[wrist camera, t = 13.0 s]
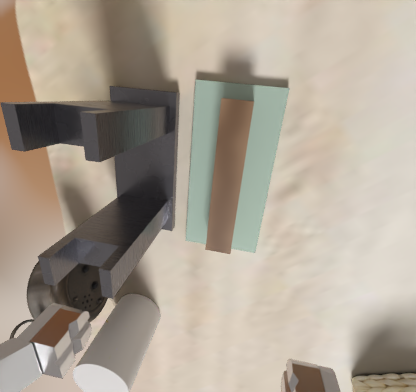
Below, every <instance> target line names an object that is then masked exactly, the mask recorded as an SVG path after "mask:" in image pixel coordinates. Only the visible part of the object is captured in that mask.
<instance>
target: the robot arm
mask: <svg viewBox="0 0 416 392" xmlns="http://www.w3.org/2000/svg"><path fill="white" fill-rule="evenodd" d="M89 317H90V316H89V312H88V311H84V310H80V309H76V308H72V307H68V306H65V305H60V304H56V303H53V304H51V305H49V306H48V307H47V308H46V309H45V310H44V311H43V312H42V313H41V314H40V315H39V316H38V317H37V318H36V319H35V320H34V321H33V322H32V323H31V324H30V325H29V326H28V327H27V328H26V329H25V330H24V331H23V332H22V333H21V334H20V335H19V336H18V337H17V338H11V339H9V340H7V341H5V342H4V343H2V344H0V392H20V391H22V390H23V389H24V388H25V387H27V386H28V385H30V384H31V383H33V382H34V381H35V380H37V379H38V378H39V377H41V376H42V374H45V375H49V376H53V377H58V378H62V379H63V377H64V376H65V375H66V373H67V372H68V370H69V369H70V367H71V366H72V364H73V363H74V362H75V354H76V353H78V352H80V351H81V350H83V348H84V346H85V345H86V344H87V342H88V340H89V337H90V335H91V324H90V323H89V322H88V321H87V320H88V319H89ZM286 366H287V370H286V371H284V372H283V376H282V381H281V392H340V388H339V385H338V381H337V378H336V375H335V372H334V371H333V369H331V368H327V367H323V366H318V365H316V364H311V363H307V362H302V361H297V360H293V359H289V360H288V361H287V364H286Z"/></svg>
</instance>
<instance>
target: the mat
mask: <svg viewBox="0 0 416 392" xmlns="http://www.w3.org/2000/svg"><path fill="white" fill-rule="evenodd" d="M288 93H289V88H282V87H271V86H260V85H249V84H238V83H228V82H217V81H206V80H196V84H195V100H194V116H193V132H192V148H191V164H190V180H189V196H188V212H187V228H186V241H191V242H197V243H202V244H206V239H207V230H208V220H209V211H210V201H211V192H212V182H213V173H214V163H215V154H216V144H217V135H218V125H219V116H220V106H221V98H228V99H238V100H248V101H254V106H253V112H252V119H251V125H250V131H249V138H248V144H247V150H246V157H245V163H244V170H243V176H242V182H241V189H240V195H239V201H238V208H237V214H236V220H235V227H234V233H233V239H232V246H231V249H236V250H241V251H247V252H253V253H255V251H256V246H257V241H258V237H259V232H260V227H261V222H262V217H263V213H264V208H265V203H266V198H267V193H268V189H269V184H270V179H271V174H272V169H273V165H274V160H275V155H276V150H277V145H278V141H279V136H280V131H281V126H282V121H283V117H284V112H285V107H286V102H287V97H288Z"/></svg>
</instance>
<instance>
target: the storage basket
mask: <svg viewBox="0 0 416 392" xmlns="http://www.w3.org/2000/svg"><path fill="white" fill-rule="evenodd" d="M352 385H353V392H416V374H414V373H405V374H401V375H397V374H384V375H369V376H356V377H354V378H353V379H352Z"/></svg>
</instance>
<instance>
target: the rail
mask: <svg viewBox="0 0 416 392" xmlns="http://www.w3.org/2000/svg"><path fill="white" fill-rule="evenodd" d="M253 106H254V101H248V100H238V99H228V98H221V106H220V116H219V125H218V135H217V144H216V154H215V163H214V173H213V182H212V192H211V201H210V211H209V220H208V230H207V239H206V249H205V250H211V251H216V252H222V253H227V254H230V252H231V246H232V239H233V233H234V227H235V220H236V214H237V208H238V201H239V195H240V189H241V182H242V176H243V170H244V163H245V157H246V150H247V144H248V138H249V131H250V125H251V119H252V112H253Z"/></svg>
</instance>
